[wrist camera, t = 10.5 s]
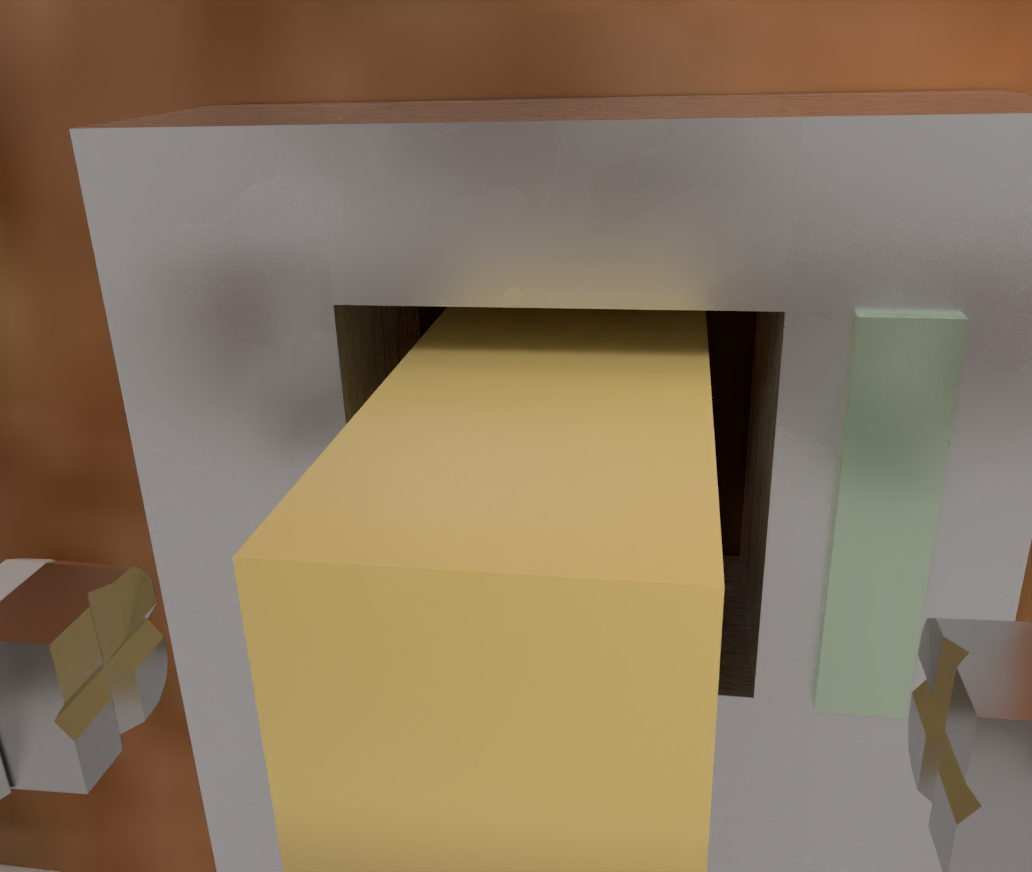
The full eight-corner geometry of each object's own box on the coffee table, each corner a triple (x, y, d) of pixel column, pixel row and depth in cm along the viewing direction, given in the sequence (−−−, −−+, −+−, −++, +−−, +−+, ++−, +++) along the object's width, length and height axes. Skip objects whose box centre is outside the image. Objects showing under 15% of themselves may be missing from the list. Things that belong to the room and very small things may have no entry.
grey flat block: (213, 105, 16) (60, 129, 12) (1003, 89, 14) (1126, 112, 10) (344, 1033, 24) (280, 1221, 20) (843, 1103, 22) (876, 1326, 18)
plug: (462, 290, 16) (232, 556, 8) (704, 292, 16) (724, 586, 7) (476, 550, 18) (301, 982, 10) (692, 562, 17) (696, 1034, 9)
